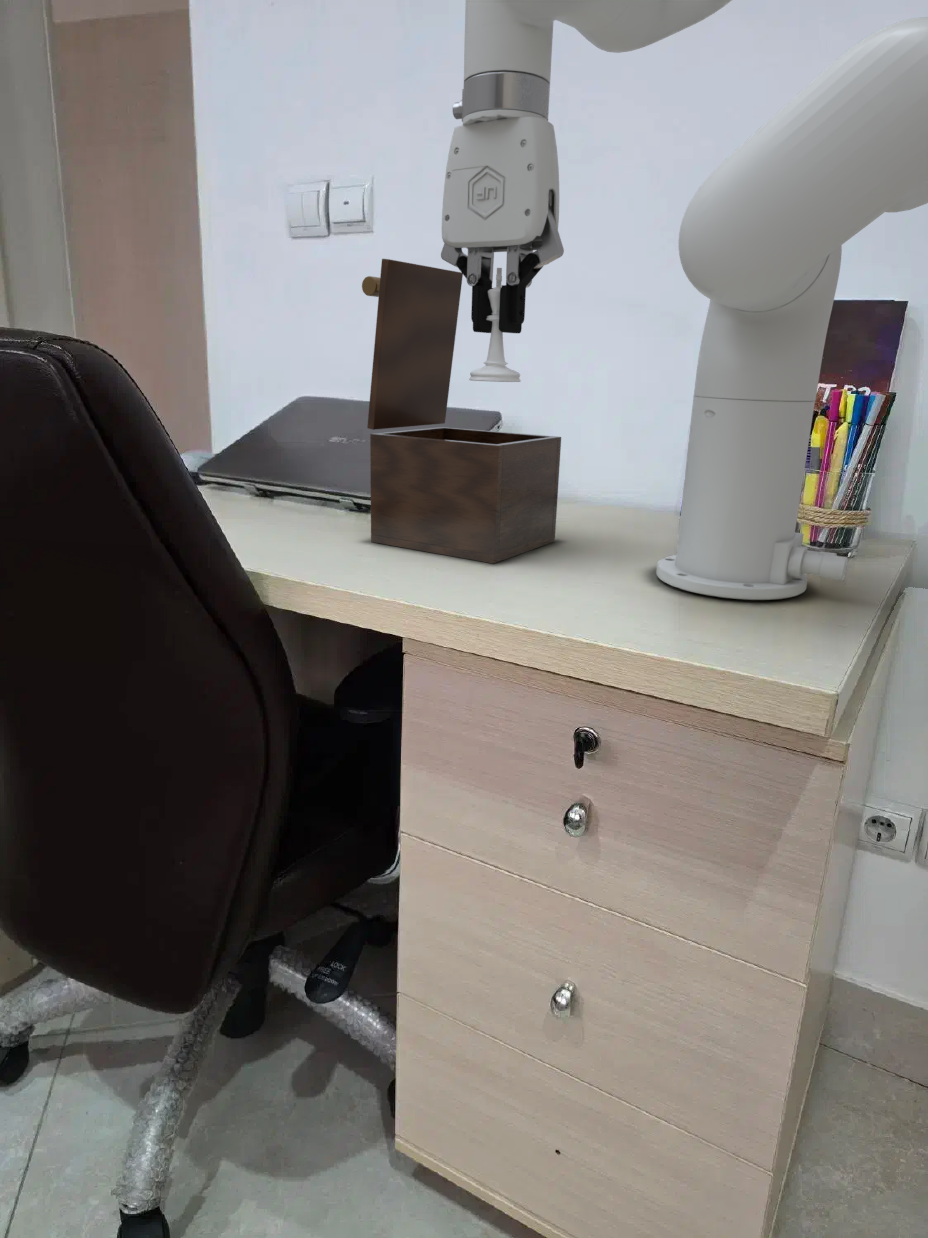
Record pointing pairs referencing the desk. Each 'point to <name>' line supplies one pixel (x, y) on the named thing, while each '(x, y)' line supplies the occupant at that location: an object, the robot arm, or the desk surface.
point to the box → (464, 491)
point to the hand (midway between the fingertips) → (497, 330)
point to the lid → (412, 343)
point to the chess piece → (495, 345)
